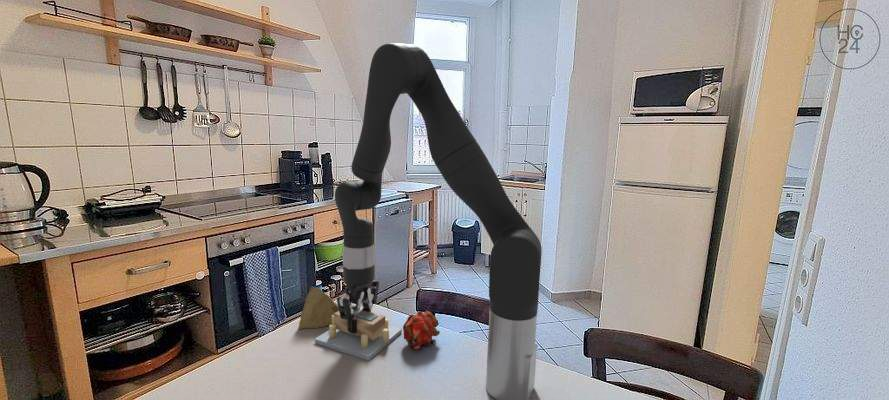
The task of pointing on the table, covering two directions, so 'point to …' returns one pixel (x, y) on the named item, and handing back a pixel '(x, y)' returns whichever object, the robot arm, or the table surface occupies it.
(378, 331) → the frame
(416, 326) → the dragon fruit
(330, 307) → the rock
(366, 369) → the table surface
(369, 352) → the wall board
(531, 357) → the robot arm
